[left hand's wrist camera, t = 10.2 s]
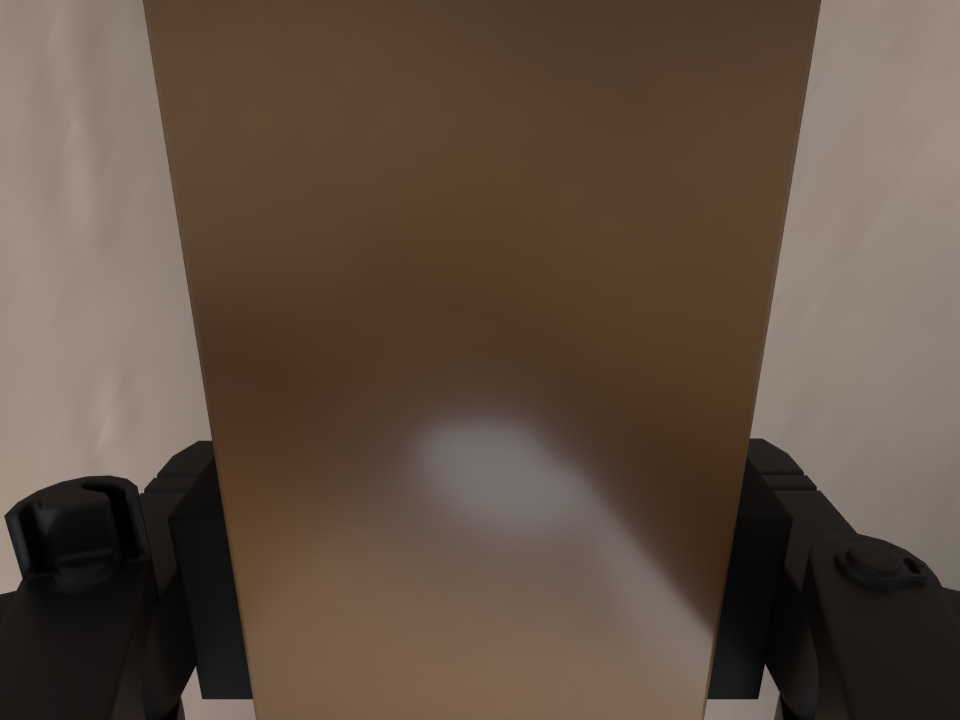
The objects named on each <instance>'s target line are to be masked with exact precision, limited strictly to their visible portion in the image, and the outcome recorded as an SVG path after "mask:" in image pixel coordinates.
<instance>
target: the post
mask: <svg viewBox="0 0 960 720" xmlns="http://www.w3.org/2000/svg"><path fill="white" fill-rule="evenodd" d="M143 4H144V10H145V17H146V23H147V29H148V36H149V42H150V48H151V55H152V61H153V67H154V74H155V80H156V86H157V93H158V99H159V105H160V112H161V118H162V124H163V131H164V137H165V143H166V150H167V156H168V162H169V169H170V175H171V182H172V188H173V194H174V201H175V207H176V213H177V220H178V226H179V232H180V239H181V245H182V251H183V258H184V264H185V270H186V277H187V283H188V289H189V296H190V302H191V308H192V315H193V321H194V327H195V334H196V340H197V346H198V353H199V359H200V365H201V372H202V378H203V384H204V391H205V397H206V403H207V410H208V416H209V422H210V429H211V435H212V441H213V448H214V454H215V461H216V467H217V473H218V480H219V486H220V492H221V499H222V505H223V511H224V518H225V524H226V530H227V537H228V543H229V549H230V556H231V562H232V568H233V575H234V581H235V587H236V594H237V600H238V606H239V613H240V619H241V625H242V632H243V638H244V644H245V651H246V657H247V663H248V670H249V676H250V682H251V689H252V695H253V701H254V708H255V714H256V720H704V715H705V709H706V702H707V696H708V690H709V684H710V678H711V672H712V666H713V660H714V653H715V647H716V641H717V635H718V629H719V623H720V617H721V611H722V604H723V598H724V592H725V586H726V580H727V574H728V568H729V562H730V555H731V549H732V543H733V537H734V531H735V525H736V519H737V513H738V506H739V500H740V494H741V488H742V482H743V476H744V470H745V464H746V457H747V451H748V445H749V439H750V433H751V427H752V421H753V415H754V408H755V402H756V396H757V390H758V384H759V378H760V372H761V366H762V359H763V353H764V347H765V341H766V335H767V329H768V323H769V317H770V310H771V304H772V298H773V292H774V286H775V280H776V274H777V268H778V261H779V255H780V249H781V243H782V237H783V231H784V225H785V219H786V212H787V206H788V200H789V194H790V188H791V182H792V176H793V170H794V163H795V157H796V151H797V145H798V139H799V133H800V127H801V121H802V114H803V108H804V102H805V96H806V90H807V84H808V78H809V72H810V65H811V59H812V53H813V47H814V41H815V35H816V29H817V23H818V16H819V10H820V4H821V0H143Z"/></svg>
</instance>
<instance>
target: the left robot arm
mask: <svg viewBox="0 0 960 720" xmlns="http://www.w3.org/2000/svg"><path fill="white" fill-rule="evenodd" d="M4 517H5V520H6V524H7V527H8V530H9V534H10V537H11V541H12V544H13V547H14V551H15V554H16V558H17V561H18V564H19V568H20V571H21V575H22V578H23V579H22V581H21V583H20V585H19V587H18V589H17V591H13V592H10V593H6V594H1V595H0V720H185V714H184V708H183V703H182V698H181V694H182V692H183V690H184V688H185V686H186V684H187V682H188V680H189V678H190V676H191V674H192V672H193V670H194V668H195V666H196V669H197V674H198V679H199V684H200V689H201V694H202V699H253V695H252V689H251V682H250V676H249V670H248V663H247V657H246V651H245V644H244V638H243V632H242V625H241V619H240V613H239V606H238V600H237V594H236V587H235V581H234V575H233V568H232V562H231V556H230V549H229V543H228V537H227V530H226V524H225V518H224V511H223V505H222V499H221V492H220V486H219V480H218V473H217V467H216V461H215V454H214V448H213V441H198V442H196V443H194V444H192V445H191V446H189V447H187V448H186V449H184V450H182V451H181V452H179V453H177V454H176V455H174V456H173V457H172V458H171V459H170V460H169V461H168V462H167V464H166V465H165V466H164V467H163V468H162V469H161V470H160V472H159V473H158V474H157V478H154V479H153V480H152V481H151V482H150V483H149V484H148V486H147V487H146V488H145V489H144V493H141V494H140V495H139V492H138V488H137V486H136V485H135V484H133V483H132V482H131V481H129V480H128V479H125V478H120V477H115V476H87V477H82V478H78V479H73V480H68V481H63V482H60V483H58V484H55V485H52V486H49V487H47V488H44V489H41V490H39V491H37V492H35V493H33V494H31V495H30V496H28V497H26V498H25V499H23V500H21V501H19V502H18V503H17V504H16V505H15V506H14V507H13V508H12V509H11V510H10V511H9V512H8V513H7V514H6V515H5V516H4ZM765 664H766V666H767V668H768V670H769V672H770V674H771V676H772V678H773V680H774V682H775V684H776V686H777V688H778V690H779V692H780V694H779V698H778V703H777V708H776V713H775V718H774V720H960V591H955V590H951V589H948V588H944V587H942V586H941V584H940V582H939V580H938V578H937V577H936V576H935V574H934V573H933V572H932V571H931V569H930V568H929V567H928V566H927V565H926V563H924V562H923V561H921V560H920V559H918V558H917V557H916V556H914V555H913V554H911V553H910V552H908V551H907V550H905V549H903V548H900V547H898V546H896V545H893V544H891V543H889V542H886V541H884V540H881V539H877V538H873V537H869V536H865V535H860V534H857V533H856V531H855V530H854V529H853V528H852V527H851V526H850V524H849V523H848V522H847V521H846V520H845V519H844V518H843V516H842V515H841V514H840V513H839V512H838V511H837V510H836V508H835V507H834V506H833V505H832V504H831V503H830V501H829V500H828V499H827V498H826V497H825V496H824V495H823V493H822V492H821V491H817V487H816V485H815V484H814V483H813V482H812V481H811V480H810V478H809V477H808V476H807V475H804V472H803V470H802V469H801V468H800V467H799V466H798V465H797V464H796V462H795V461H794V460H793V459H792V458H791V457H790V456H789V454H787V453H786V452H784V451H782V450H781V449H779V448H777V447H776V446H774V445H772V444H770V443H769V442H767V441H765V440H764V439H749V445H748V451H747V457H746V464H745V470H744V476H743V482H742V488H741V494H740V500H739V506H738V513H737V519H736V525H735V531H734V537H733V543H732V549H731V555H730V562H729V568H728V574H727V580H726V586H725V592H724V598H723V604H722V611H721V617H720V623H719V629H718V635H717V641H716V647H715V653H714V660H713V666H712V672H711V678H710V684H709V690H708V696H707V699H758V697H759V692H760V687H761V682H762V676H763V671H764V666H765Z"/></svg>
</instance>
